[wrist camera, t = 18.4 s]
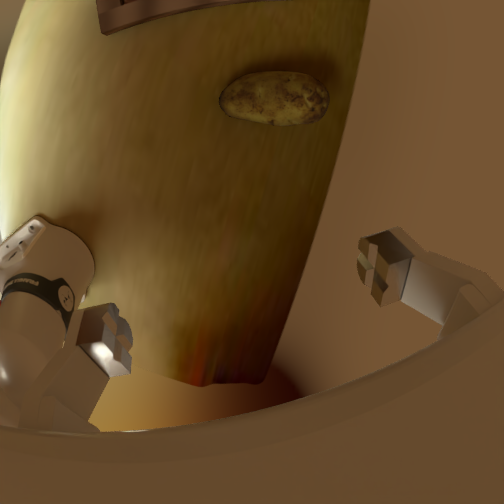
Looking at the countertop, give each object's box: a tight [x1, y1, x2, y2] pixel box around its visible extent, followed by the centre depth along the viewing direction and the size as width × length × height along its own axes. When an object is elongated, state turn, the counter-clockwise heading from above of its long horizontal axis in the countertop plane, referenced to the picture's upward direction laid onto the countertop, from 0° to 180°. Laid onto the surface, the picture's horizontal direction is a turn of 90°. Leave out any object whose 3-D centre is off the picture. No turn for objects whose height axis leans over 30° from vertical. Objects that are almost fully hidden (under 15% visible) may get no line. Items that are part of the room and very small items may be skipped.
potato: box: [219, 71, 330, 126], centre depth 32 cm, size 8×13×8 cm, turn 74°
